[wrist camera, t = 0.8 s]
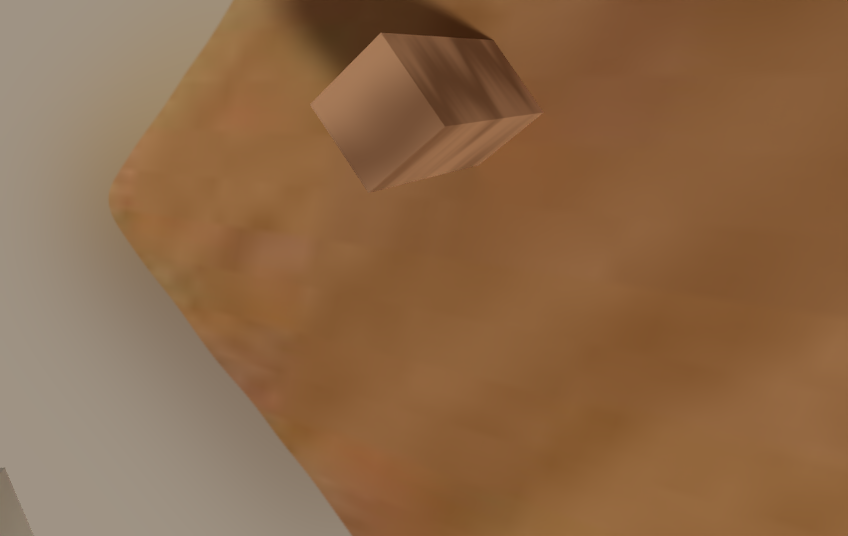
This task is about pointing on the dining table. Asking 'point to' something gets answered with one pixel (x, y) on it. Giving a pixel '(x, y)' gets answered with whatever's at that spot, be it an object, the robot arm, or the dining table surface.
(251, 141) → the dining table surface
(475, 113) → the cherry block
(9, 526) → the robot arm
